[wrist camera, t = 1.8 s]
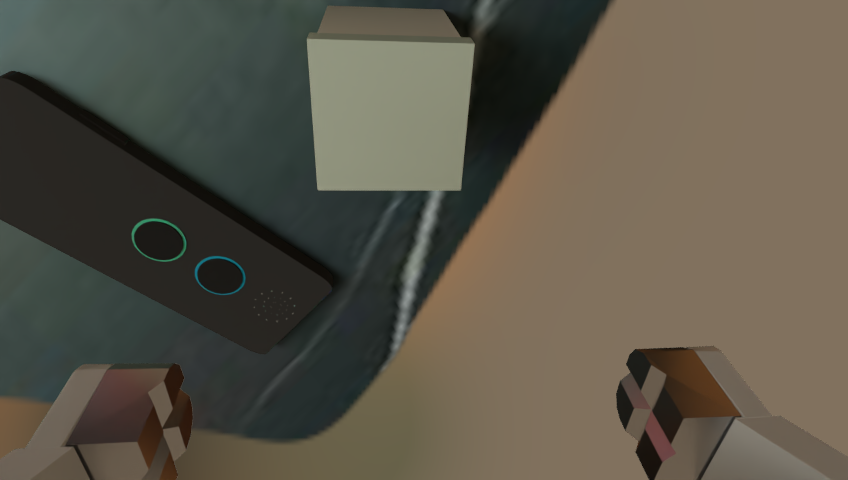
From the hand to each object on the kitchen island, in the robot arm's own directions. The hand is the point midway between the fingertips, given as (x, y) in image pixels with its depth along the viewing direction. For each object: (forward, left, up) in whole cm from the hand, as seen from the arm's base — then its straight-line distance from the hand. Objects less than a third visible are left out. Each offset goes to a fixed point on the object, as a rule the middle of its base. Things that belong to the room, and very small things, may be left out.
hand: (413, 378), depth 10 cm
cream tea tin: (0, 0, -21) cm, 21 cm away
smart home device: (+10, -13, -22) cm, 27 cm away
